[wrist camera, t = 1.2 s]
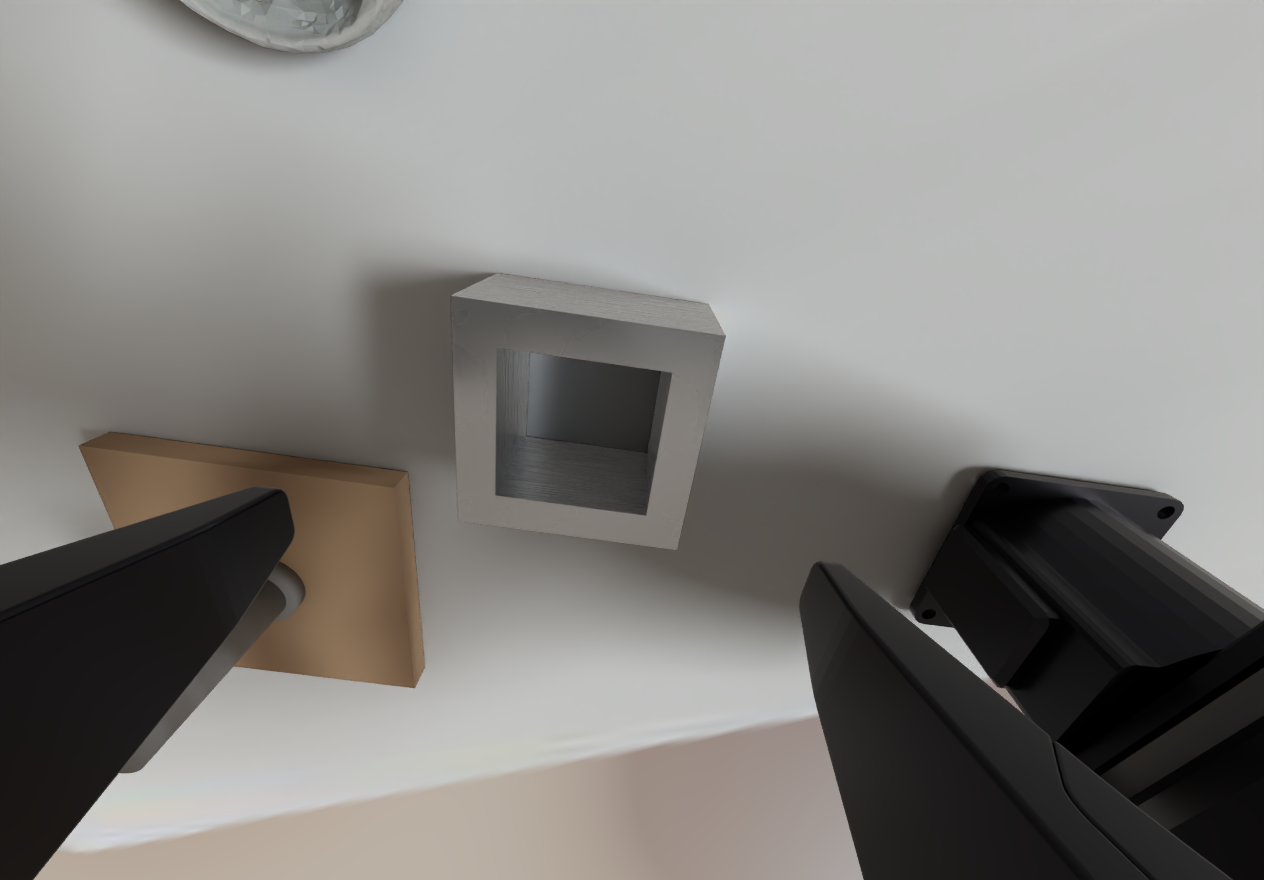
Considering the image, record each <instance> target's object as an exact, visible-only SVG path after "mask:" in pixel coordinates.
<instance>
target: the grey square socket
mask: <svg viewBox="0 0 1264 880" xmlns="http://www.w3.org/2000/svg"><path fill="white" fill-rule="evenodd" d="M450 297H451V326H452V356H453V386H454V416H455V445H456V475H457V505H458V521H460V522H467V523H475V524H482V525H490V526H498V527H505V528H513V529H520V530H528V531H535V532H543V533H551V534H558V535H566V536H573V537H581V538H588V539H596V540H604V541H611V542H619V543H626V544H634V545H642V546H649V547H657V548H664V549H672V550H677V547H678V543H679V539H680V534H681V530H682V526H683V521H684V517H685V512H686V508H687V504H688V499H689V495H690V490H691V486H692V482H693V477H694V473H695V469H696V464H697V460H698V455H699V451H700V447H701V442H702V438H703V433H704V429H705V425H706V420H707V416H708V411H709V407H710V403H711V398H712V394H713V390H714V385H715V381H716V376H717V372H718V368H719V363H720V359H721V354H722V350H723V346H724V341H725V337H726V335H725V334H724V332H723V330H722V328H721V326H720V324H719V322H718V321H717V319H716V317H715V315H714V313H713V311H712V310H711V308H710V306H709V304H704V303H697V302H690V301H683V300H677V299H670V298H663V297H656V296H650V295H643V294H636V293H629V292H622V291H616V290H609V289H602V288H595V287H589V286H582V285H575V284H568V283H561V282H555V281H548V280H541V279H534V278H528V277H521V276H514V275H507V274H500V273H496V274H494V275H492V276H490V277H488V278H486V279H484V280H482V281H480V282H478V283H476V284H473V285H471V286H469V287H467V288H465V289H463V290H461V291H459V292H457V293H455V294H453V295H451V296H450ZM530 352H532V353H539V354H546V355H553V356H559V357H566V358H573V359H580V360H587V361H594V362H601V363H608V364H615V365H622V366H629V367H636V368H643V369H650V370H657V371H661V376H660V382H659V388H658V393H657V399H656V405H655V411H654V417H653V422H652V428H651V434H650V440H649V446H648V452H647V453H643V452H636V451H629V450H621V449H614V448H607V447H599V446H592V445H585V444H578V443H570V442H563V441H556V440H549V439H541V438H534V437H527V436H526V430H527V406H528V382H529V358H530Z"/></svg>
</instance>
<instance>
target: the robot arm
mask: <svg viewBox="0 0 1264 880" xmlns="http://www.w3.org/2000/svg"><path fill="white" fill-rule="evenodd" d="M999 483H1000V485H999V486H998V487H997V488H995V489H993V488H994V487H995V485H997V484H999ZM1183 510H1184V505H1183V504H1182V502H1181V501H1179V500H1177V499H1175V498H1174V497H1172V496H1170V495H1168V494H1166V493H1161V492H1154V491H1147V490H1139V489H1132V488H1125V487H1118V486H1111V485H1104V484H1097V483H1089V482H1082V481H1075V480H1068V479H1061V478H1054V477H1046V476H1039V475H1032V474H1025V473H1018V472H1011V471H1004V470H993V471H990V472H987V473H985V474H984V475H982V476H981V477H980V479H979V480H978V481H977V483H976V485H975V487H974V489H973V490H972V492H971V494H970V496H969V498H968V500H967V501H966V503H965V505H964V507H963V509H962V511H961V512H960V514H959V516H958V518H957V520H956V522H955V523H954V525H953V527H952V529H951V531H950V533H949V535H948V536H947V538H946V540H945V542H944V544H943V546H942V547H941V549H940V551H939V553H938V555H937V557H936V558H935V560H934V562H933V564H932V566H931V568H930V569H929V571H928V573H927V575H926V577H925V579H924V580H923V582H922V584H921V586H920V588H919V590H918V592H917V593H916V595H915V597H914V599H913V601H912V603H911V604H910V611H911V613H912V615H913V616H914V618H915V619H916V620H917V621H918V622H919V623H922V624H929V625H936V626H944V627H952V628H955V629H956V631H957V632H958V634H959V635H960V637H961V638H962V639H963V641H964V642H965V644H966V645H967V646H968V648H969V649H970V651H971V652H972V654H973V655H974V656H975V658H976V659H977V661H978V662H979V663H980V665H981V666H982V668H983V669H984V671H985V672H986V673H987V675H988V676H989V678H990V679H991V680H992V682H993V683H994V684H995V685H996V686H997V687H1000V688H1006V690H1007V691H1008V693H1009V694H1010V695H1011V697H1012V698H1013V699H1014V701H1015V702H1016V704H1017V705H1018V706H1019V708H1020V709H1021V711H1022V712H1023V713H1024V714H1023V713H1021V712H1020V711H1019V710H1018V709H1017V708H1015V707H1014V706H1013V705H1012V704H1011V703H1009V702H1008V701H1007V700H1006V699H1004V698H1003V697H1002V696H1001V695H1000V694H998V693H997V692H996V691H995V690H993V689H992V688H991V687H990V686H989V685H987V684H986V683H985V682H984V681H983V680H981V679H980V678H979V677H978V676H976V675H975V674H974V673H973V672H972V671H970V670H969V669H968V668H967V667H965V666H964V665H963V664H962V663H961V662H959V661H958V660H957V659H956V658H955V657H953V656H952V655H951V654H950V653H948V652H947V651H946V650H945V649H944V648H942V647H941V646H940V645H939V644H937V643H936V642H935V641H934V640H933V639H931V638H930V637H929V636H928V635H927V634H925V633H924V632H923V631H922V630H920V629H919V628H918V627H917V626H916V625H914V624H913V623H912V622H911V621H909V620H908V619H907V618H906V617H905V616H903V615H902V614H901V613H900V612H899V611H897V610H896V609H895V608H894V607H892V606H891V605H890V604H889V603H888V602H886V601H885V600H884V599H883V598H882V597H880V596H879V595H878V594H877V593H875V592H874V591H873V590H872V589H871V588H869V587H868V586H867V585H866V584H864V583H863V582H862V581H861V580H860V579H858V578H857V577H856V576H855V575H854V574H852V573H851V572H850V571H849V570H847V569H846V568H845V567H844V566H842V565H840V564H837V563H830V562H822V561H819V562H816V563H815V564H814V565H813V567H812V568H811V571H810V573H809V576H808V579H807V581H806V584H805V586H804V589H803V591H802V594H801V597H800V603H799V608H800V615H801V622H802V628H803V634H804V640H805V646H806V653H807V659H808V665H809V671H810V677H811V683H812V688H813V694H814V698H815V702H816V706H817V710H818V714H819V718H820V722H821V725H822V729H823V732H824V736H825V740H826V743H827V747H828V751H829V754H830V758H831V762H832V765H833V769H834V772H835V776H836V780H837V784H838V787H839V791H840V794H841V798H842V802H843V806H844V809H845V813H846V816H847V820H848V824H849V828H850V831H851V835H852V838H853V842H854V846H855V849H856V853H857V857H858V860H859V864H860V868H861V871H862V875H863V879H864V880H1264V609H1263V608H1261V607H1260V606H1258V605H1257V604H1255V603H1254V602H1252V601H1251V600H1249V599H1248V598H1246V597H1245V596H1243V595H1242V594H1240V593H1239V592H1237V591H1236V590H1234V589H1233V588H1231V587H1230V586H1228V585H1227V584H1225V583H1224V582H1222V581H1221V580H1219V579H1218V578H1216V577H1215V576H1213V575H1212V574H1210V573H1209V572H1207V571H1206V570H1204V569H1203V568H1202V567H1200V566H1199V565H1197V564H1196V563H1194V562H1193V561H1191V560H1190V559H1188V558H1187V557H1185V556H1184V555H1182V554H1181V553H1179V552H1178V551H1176V550H1175V549H1173V548H1172V547H1170V546H1169V545H1167V544H1166V543H1164V542H1163V541H1161V539H1162V538H1163V536H1164V535H1165V534H1166V533H1167V531H1168V530H1169V529H1170V528H1171V526H1172V525H1173V524H1174V523H1175V521H1176V520H1177V519H1178V518H1179V516H1180V515H1181V513H1182V512H1183ZM294 534H295V526H294V522H293V517H292V513H291V509H290V504H289V500H288V496H287V494H286V493H285V491H284V490H282V489H279V488H272V487H265V486H253V487H249V488H246V489H243V490H240V491H237V492H233V493H230V494H227V495H224V496H221V497H217V498H214V499H211V500H208V501H205V502H201V503H198V504H195V505H192V506H189V507H185V508H182V509H179V510H176V511H172V512H169V513H166V514H163V515H160V516H156V517H153V518H150V519H147V520H144V521H140V522H137V523H134V524H131V525H128V526H124V527H121V528H118V529H115V530H111V531H108V532H105V533H102V534H99V535H95V536H92V537H89V538H86V539H83V540H79V541H76V542H73V543H70V544H67V545H63V546H60V547H57V548H54V549H50V550H47V551H44V552H41V553H38V554H34V555H31V556H28V557H25V558H22V559H18V560H15V561H12V562H9V563H6V564H2V565H0V880H33V879H34V878H35V877H36V876H37V874H38V873H39V872H40V871H41V869H42V868H43V867H44V866H45V864H46V863H47V862H48V861H49V859H50V858H51V857H52V856H53V854H54V853H55V852H56V851H57V849H58V848H59V847H60V846H61V844H62V843H63V842H64V841H65V839H66V838H67V837H68V836H69V834H70V833H71V832H72V831H73V829H74V828H75V827H76V826H77V824H78V823H79V822H80V821H81V819H82V818H83V817H84V816H85V815H86V813H87V812H88V811H89V810H90V808H91V807H92V806H93V805H94V803H95V802H96V801H97V800H98V798H99V797H100V796H101V795H102V793H103V792H104V791H105V790H106V788H107V787H108V786H109V785H110V783H111V782H112V781H113V780H114V778H115V777H116V776H117V775H118V773H119V772H120V771H121V770H122V768H123V767H124V766H125V765H126V763H127V762H128V761H129V760H130V758H131V757H132V756H133V755H134V753H135V752H136V751H137V750H138V748H139V747H140V746H141V745H142V743H143V742H144V741H145V740H146V738H147V737H148V736H149V735H150V733H151V732H152V731H153V730H154V728H155V727H156V726H157V725H158V723H159V722H160V721H161V720H162V718H163V717H164V716H165V715H166V713H167V712H168V711H169V710H170V708H171V707H172V706H173V705H174V703H175V702H176V701H177V700H178V698H179V697H180V696H181V695H182V694H183V692H184V691H185V690H186V689H187V687H188V686H189V685H190V684H191V682H192V681H193V680H194V679H195V677H196V676H197V675H198V674H199V672H200V671H201V670H202V669H203V667H204V666H205V665H206V664H207V662H208V661H209V660H210V659H211V657H212V656H213V655H214V654H215V652H216V651H217V650H218V649H219V647H220V646H221V645H222V644H223V642H224V641H225V640H226V639H227V637H228V636H229V635H230V633H231V632H232V631H233V630H234V628H235V627H236V626H237V624H238V623H239V621H240V620H241V619H242V617H243V616H244V614H245V613H246V611H247V610H248V609H249V607H250V606H251V604H252V602H253V601H254V599H255V598H256V596H257V595H258V593H259V592H260V590H261V589H262V587H263V586H264V584H265V583H266V581H267V580H268V578H269V577H270V575H271V574H272V572H273V570H274V569H275V567H276V566H277V564H278V563H279V561H280V560H281V558H282V557H283V555H284V554H285V552H286V551H287V549H288V548H289V546H290V545H291V543H292V540H293V538H294Z"/></svg>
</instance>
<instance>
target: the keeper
mask: <svg viewBox="0 0 1264 880" xmlns="http://www.w3.org/2000/svg"><path fill="white" fill-rule="evenodd" d="M79 448H80V451H81V453H82V455H83V457H84V460H85V462H86V464H87V467H88V469H89V471H90V474H91V476H92V478H93V480H94V483H95V485H96V487H97V490H98V492H99V494H100V496H101V499H102V501H103V503H104V506H105V508H106V510H107V513H108V515H109V517H110V519H111V522H112V524H113V526H114V529H118V528H121V527H124V526H128V525H131V524H134V523H137V522H140V521H144V520H147V519H150V518H153V517H156V516H160V515H163V514H166V513H169V512H172V511H176V510H179V509H182V508H185V507H189V506H192V505H195V504H198V503H201V502H205V501H208V500H211V499H214V498H217V497H221V496H224V495H227V494H230V493H233V492H237V491H240V490H243V489H246V488H249V487H253V486H265V487H272V488H279V489H282V490H284V491H285V493H286V494H287V496H288V500H289V504H290V509H291V513H292V517H293V522H294V526H295V534H294V538H293V540H292V543H291V545H290V546H289V548H288V549H287V551H286V552H285V554H284V555H283V557H282V558H281V560H280V561H279V563H278V564H277V566H276V567H275V569H274V570H273V572H272V574H271V575H270V577H269V578H268V580H267V581H266V583H265V584H264V586H263V587H262V589H261V590H260V592H259V593H258V595H257V596H256V598H255V599H254V601H253V602H252V604H251V606H250V607H249V609H248V610H247V611H246V613H245V614H244V616H243V617H242V619H241V620H240V621H239V623H238V624H237V626H236V627H235V628H234V630H233V631H232V632H231V633H230V635H229V636H228V637H227V639H226V640H225V641H224V642H223V644H222V645H221V646H220V647H219V649H218V650H217V651H216V652H215V654H214V655H213V656H212V657H211V659H210V660H209V661H208V662H207V664H206V665H205V666H204V667H203V669H202V670H201V671H200V672H199V674H198V675H197V676H196V677H195V679H194V680H193V681H192V682H191V684H190V685H189V686H188V687H187V689H186V690H185V691H184V692H183V694H182V695H181V696H180V697H179V698H178V700H177V701H176V702H175V703H174V705H173V706H172V707H171V708H170V710H169V711H168V712H167V713H166V715H165V716H164V717H163V718H162V720H161V721H160V722H159V723H158V725H157V726H156V727H155V728H154V730H153V731H152V732H151V733H150V735H149V736H148V737H147V738H146V740H145V741H144V742H143V743H142V745H141V746H140V747H139V748H138V750H137V751H136V752H135V753H134V755H133V756H132V757H131V758H130V760H129V761H128V762H127V763H126V765H125V766H124V767H123V768H122V770H121V771H120V772H119V773H133V772H137V771H139V770H141V769H142V768H143V767H144V766H145V765H146V764H147V763H148V761H149V760H150V759H151V758H152V757H153V756H154V755H155V754H156V753H157V751H158V750H159V749H160V748H161V747H162V746H163V745H164V744H165V742H166V741H167V740H168V739H169V738H170V737H171V736H172V735H173V733H174V732H175V731H176V730H177V729H178V728H179V727H180V726H181V725H182V723H183V722H184V721H185V720H186V719H187V718H188V717H189V716H190V714H191V713H192V712H193V711H194V710H195V709H196V708H197V707H198V705H199V704H200V703H201V702H202V701H203V700H204V699H205V698H206V696H207V695H208V694H209V693H210V692H211V691H212V690H213V689H214V688H215V686H216V685H217V684H218V683H219V682H220V681H221V680H222V679H223V677H224V676H225V675H226V674H227V673H228V672H229V671H230V670H231V668H232V667H233V666H236V667H244V668H252V669H261V670H269V671H277V672H285V673H294V674H302V675H310V676H318V677H327V678H335V679H343V680H351V681H360V682H368V683H376V684H384V685H393V686H401V687H409V688H415V687H416V685H417V683H418V681H419V678H420V676H421V674H422V672H423V670H424V668H425V663H424V652H423V640H422V629H421V617H420V606H419V594H418V583H417V571H416V560H415V548H414V537H413V525H412V514H411V502H410V491H409V479H408V472H403V471H396V470H388V469H381V468H373V467H366V466H359V465H351V464H344V463H336V462H329V461H321V460H314V459H307V458H299V457H292V456H284V455H277V454H269V453H262V452H255V451H247V450H240V449H232V448H225V447H217V446H210V445H203V444H195V443H188V442H180V441H173V440H165V439H158V438H151V437H143V436H136V435H128V434H121V433H113V432H109V433H107V434H104V435H102V436H100V437H97V438H95V439H93V440H90V441H88V442H86V443H83V444H81V445H79Z"/></svg>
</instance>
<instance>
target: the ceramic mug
mask: <svg viewBox="0 0 1264 880" xmlns="http://www.w3.org/2000/svg"><path fill="white" fill-rule="evenodd" d="M180 1H181V2H183V3H184V4H185V5H186V6H188V7H189V8H190V9H191V10H193V11H195V12H196V13H198V14H200V15H201V16H203V17H205V18H206V19H208V20H210V21H211V22H213V23H215V24H217V25H218V26H220V27H222V28H223V29H225V30H227V31H229V32H231V33H233V34H235V35H238V36H240V37H242V38H244V39H247V40H249V41H251V42H253V43H255V44H258V45H260V46H263V47H267V48H270V49H274V50H278V51H289V52H293V53H305V52H328V51H332V50H336V49H341V48H345V47H350V46H352V45H354V44H356V43H357V42H359V41H361V40H363V39H365V38H367V37H369V36H370V35H372V34H374V33H375V32H376V31H377V30H378V29H379V28H380V27H381V25H382V24H384V23H385V22H386V21H387V20H388V19H389V18H390V17H391V16H392V15H393V13H394V12H395V11H396V10H397V8H398V7H399V6H400V4H401V3H402V2H403V0H262V1H261V2H259V1H257V0H180Z"/></svg>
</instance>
